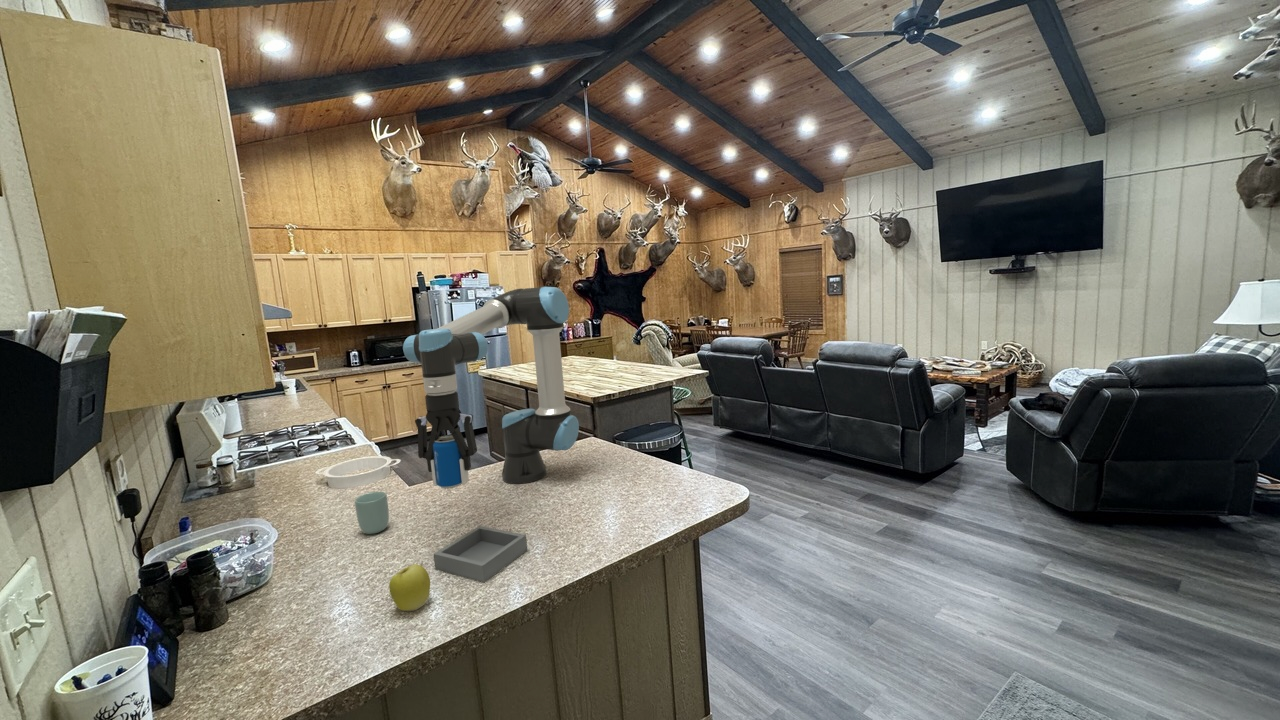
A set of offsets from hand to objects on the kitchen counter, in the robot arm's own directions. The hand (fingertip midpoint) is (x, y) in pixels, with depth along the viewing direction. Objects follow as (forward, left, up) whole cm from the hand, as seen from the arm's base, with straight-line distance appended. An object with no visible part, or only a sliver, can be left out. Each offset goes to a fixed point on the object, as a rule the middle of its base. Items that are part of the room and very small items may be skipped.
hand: (451, 483), depth 130 cm
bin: (+2, +10, -18) cm, 20 cm away
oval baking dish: (-28, -77, -18) cm, 84 cm away
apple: (+21, +9, -18) cm, 29 cm away
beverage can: (0, 0, -1) cm, 1 cm away
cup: (0, -31, -18) cm, 36 cm away
